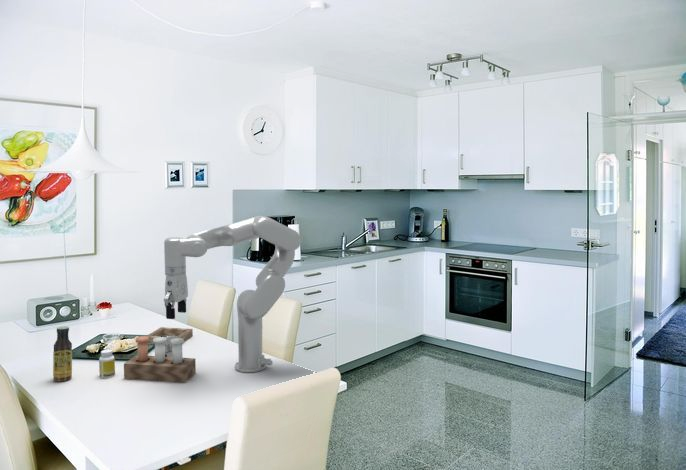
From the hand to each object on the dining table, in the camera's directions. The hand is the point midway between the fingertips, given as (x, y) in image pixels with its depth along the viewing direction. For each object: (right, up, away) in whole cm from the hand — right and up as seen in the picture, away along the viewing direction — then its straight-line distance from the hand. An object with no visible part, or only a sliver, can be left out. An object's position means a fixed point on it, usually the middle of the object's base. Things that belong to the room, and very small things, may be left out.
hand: (176, 315), depth 198 cm
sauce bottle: (-42, -24, -1) cm, 48 cm away
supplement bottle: (-27, -24, +3) cm, 36 cm away
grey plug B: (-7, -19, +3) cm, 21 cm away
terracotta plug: (-14, -19, +4) cm, 24 cm away
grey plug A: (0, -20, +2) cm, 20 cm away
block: (-7, -24, +3) cm, 25 cm away
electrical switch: (-12, -22, +23) cm, 34 cm away
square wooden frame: (-18, -19, +48) cm, 55 cm away
